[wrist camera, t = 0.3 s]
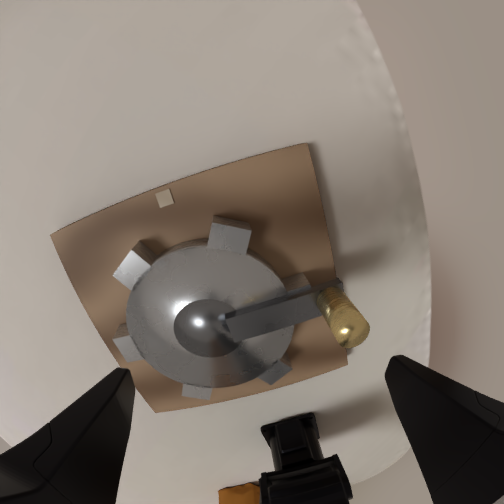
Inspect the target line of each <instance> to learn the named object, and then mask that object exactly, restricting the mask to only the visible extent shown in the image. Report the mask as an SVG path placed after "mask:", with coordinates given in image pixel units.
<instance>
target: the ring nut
mask: <svg viewBox="0 0 504 504" xmlns="http://www.w3.org/2000/svg"><path fill="white" fill-rule="evenodd" d="M251 232H252V230H251V227H250V225H249V223H247V222H243V221H238V220H233V219H229V218H224V217H219V216H214V215H213V219H212V224H211V228H210V233H209V238H208V239H196V240H190V241H186V242H182V243H179V244H176V245H174V246H171V247H169V248H168V249H166V250H164V251H162V252H161V253H160V254H158V255H157V254H155V253H154V252H153V251H152V250H151V249H149V248H148V247H147V246H146V245H145V244H144V243H142V242H141V241H140V240H139V242H138V243H137V244H136V245H135V246H134V247H133V248H132V250H131V251H130V252H129V254H128V255H127V256H126V258H125V259H124V260H123V262H122V263H121V264H120V266H119V267H118V268H117V270H116V271H115V273H114V274H113V275H112V276H114V277H115V278H116V279H117V280H118V281H120V282H121V283H122V284H123V285H125V286H126V287H127V288H128V289H130V290H131V292H130V295H129V298H128V302H127V308H126V323H125V324H121V325H119V327H118V329H117V331H116V333H115V335H114V337H113V339H112V340H113V341H114V343H115V344H116V346H117V348H118V349H119V351H120V352H121V354H122V355H123V357H124V359H125V360H126V362H127V363H128V362H133V361H138V360H143V359H144V360H145V361H146V362H147V363H148V364H149V365H151V366H152V367H153V368H154V369H155V370H157V371H158V372H160V373H161V374H163V375H165V376H166V377H168V378H170V379H172V380H175V381H177V382H180V383H183V389H182V396H185V397H191V398H198V399H205V400H210V396H211V392H212V388H225V387H231V386H236V385H240V384H243V383H246V382H248V381H251V380H253V379H255V378H259V379H261V380H263V381H264V382H266V383H268V384H270V385H273V384H274V383H275V382H277V381H278V380H279V379H281V378H282V377H283V376H284V375H286V374H287V373H288V372H290V371H291V370H292V369H293V368H292V365H291V362H290V359H289V356H288V353H286V352H285V351H286V350H287V348H288V346H289V344H290V342H291V338H292V335H293V331H294V325H295V324H298V323H302V322H305V321H308V320H311V319H314V318H316V317H319V316H323V317H324V319H325V321H326V322H327V324H328V326H329V328H330V329H331V331H332V333H333V335H334V336H335V338H336V340H337V341H338V343H339V345H340V346H342V347H344V348H353V347H356V346H358V345H359V344H361V343H362V342H363V341H364V340H365V339H366V338H367V336H368V334H369V331H370V326H369V323H368V322H367V321H366V320H365V318H364V317H363V316H362V314H361V313H360V312H359V311H358V309H357V308H356V307H355V306H354V304H353V303H352V302H351V301H350V299H349V298H348V297H347V296H346V294H345V293H344V290H343V283H342V282H341V280H340V279H339V278H336V279H333V280H330V281H327V282H324V283H321V284H318V285H315V286H312V287H311V285H310V283H309V282H308V280H307V278H306V277H305V275H304V274H303V272H302V273H299V274H296V275H293V276H290V277H286V278H283V279H281V278H280V276H279V274H278V273H277V272H276V270H275V269H274V267H273V266H272V265H271V264H270V263H269V262H268V261H267V260H266V259H264V258H263V257H262V256H260V255H259V254H258V253H256V252H254V251H253V250H251V249H249V248H248V244H249V240H250V236H251Z"/></svg>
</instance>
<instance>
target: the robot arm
mask: <svg viewBox="0 0 504 504" xmlns="http://www.w3.org/2000/svg"><path fill="white" fill-rule="evenodd" d="M385 380H386V383H387V386H388V389H389V392H390V395H391V398H392V401H393V404H394V407H395V410H396V412H397V415H398V417H399V419H400V421H401V424H402V426H403V428H404V431H405V433H406V435H407V437H408V440H409V442H410V444H411V447H412V449H413V452H414V454H415V456H416V459H417V461H418V463H419V466H420V469H421V471H422V474H423V476H424V479H425V481H426V484H427V487H428V489H429V492H430V494H431V498H432V501H433V504H504V403H503V402H500V401H498V400H495V399H493V398H490V397H488V396H486V395H483V394H481V393H479V392H477V391H474V390H472V389H471V388H468V387H467V386H464V385H462V384H460V383H458V382H456V381H454V380H452V379H450V378H448V377H446V376H444V375H442V374H440V373H437V372H436V371H434V370H432V369H430V368H428V367H426V366H424V365H422V364H420V363H418V362H416V361H414V360H412V359H410V358H408V357H406V356H404V355H396V356H393V357H392V358H391V359H390V361H389V364H388V367H387V369H386V372H385ZM134 397H135V385H134V382H133V378H132V375H131V372H130V370H129V369H128V368H120V367H118V368H116V369H115V370H113V371H112V372H111V373H110V374H108V375H107V376H106V377H105V378H103V379H102V380H101V381H100V382H98V383H97V384H96V385H95V386H93V387H92V388H91V389H90V390H88V391H87V392H86V393H85V394H83V395H82V396H81V397H80V398H78V399H77V400H76V401H75V402H73V403H72V404H71V405H70V406H68V407H67V408H66V409H65V410H63V411H62V412H61V413H60V414H58V415H57V416H56V417H55V418H53V419H52V420H51V421H50V423H47V424H46V425H44V426H43V427H42V428H41V429H39V430H38V431H37V432H35V433H34V434H33V435H31V436H30V437H28V438H27V439H25V440H24V441H22V442H21V443H19V444H17V445H16V446H14V447H12V448H11V449H9V450H7V451H6V452H4V453H2V454H1V455H0V504H115V503H116V497H117V492H118V486H119V481H120V476H121V471H122V466H123V461H124V457H125V452H126V448H127V443H128V439H129V435H130V430H131V422H132V413H133V405H134ZM261 433H262V434H263V436H264V438H265V440H266V441H267V443H268V445H269V447H270V448H271V452H272V457H273V462H274V468H275V471H273V472H267V473H266V472H264V473H261V478H260V479H259V486H260V499H259V504H349V501H348V500H350V499H352V498H353V495H352V490H351V486H350V483H349V480H348V477H347V475H346V473H345V470H344V468H343V466H342V464H341V462H340V459H339V457H338V455H337V454H335V455H332V456H331V457H328V458H325V459H324V457H323V454H322V450H321V447H320V444H319V441H318V439H319V438H320V436H319V432H318V428H317V424H316V420H315V416H314V414H313V413H309V414H306V415H303V416H300V417H296V418H293V419H289V420H286V421H282V422H278V423H275V424H271V425H267V426H263V427H261Z"/></svg>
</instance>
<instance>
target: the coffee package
mask: <svg viewBox="0 0 504 504" xmlns="http://www.w3.org/2000/svg"><path fill="white" fill-rule="evenodd" d="M218 493H219V504H259V499H260V487H259V486H256V485H253V484H252V483H247V484H245V485H238V486H235V487H233V488H224V489H221V490H219V491H218Z"/></svg>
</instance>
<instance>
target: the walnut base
mask: <svg viewBox="0 0 504 504" xmlns="http://www.w3.org/2000/svg"><path fill="white" fill-rule="evenodd" d="M213 215H214V216H219V217H224V218H229V219H233V220H238V221H243V222H247V223H249V225H250V227H251V230H252V232H251V236H250V240H249V244H248V248H249V249H251V250H253V251H254V252H256V253H258V254H259V255H260V256H262V257H263V258H264V259H266V260H267V261H268V262H269V263H270V264H271V265H272V266H273V267H274V269H275V270H276V272H277V273H278V274H279V276H280V278H281V279H283V278H286V277H290V276H293V275H296V274H299V273H302V272H303V274H304V275H305V277H306V278H307V280H308V282H309V283H310V285H311V287H312V286H315V285H318V284H321V283H324V282H327V281H330V280H333V279H336V273H335V267H334V261H333V256H332V250H331V245H330V240H329V235H328V230H327V225H326V220H325V215H324V211H323V206H322V202H321V197H320V193H319V188H318V184H317V180H316V176H315V172H314V168H313V164H312V160H311V156H310V152H309V148H308V145H307V143H303V144H298V145H294V146H289V147H285V148H282V149H278V150H274V151H270V152H266V153H263V154H259V155H255V156H252V157H248V158H245V159H241V160H238V161H235V162H231V163H228V164H225V165H222V166H218V167H215V168H212V169H209V170H206V171H203V172H200V173H197V174H194V175H191V176H188V177H185V178H182V179H179V180H176V181H174V182H171V183H168V184H165V185H163V186H160V187H157V188H155V189H152V190H149V191H147V192H144V193H142V194H139V195H137V196H134V197H132V198H129V199H127V200H124V201H122V202H119V203H117V204H115V205H112V206H110V207H107V208H105V209H103V210H101V211H98V212H96V213H94V214H92V215H89V216H87V217H85V218H83V219H81V220H78V221H76V222H74V223H72V224H70V225H68V226H66V227H64V228H62V229H60V230H58V231H56V232H54V233H53V234H51V235H50V236H51V239H52V241H53V243H54V246H55V248H56V251H57V253H58V255H59V258H60V260H61V262H62V264H63V266H64V269H65V271H66V273H67V275H68V277H69V279H70V281H71V283H72V285H73V287H74V289H75V291H76V293H77V295H78V297H79V299H80V301H81V303H82V305H83V306H84V308H85V310H86V312H87V314H88V315H89V317H90V319H91V321H92V322H93V324H94V326H95V328H96V329H97V331H98V333H99V334H100V336H101V337H102V339H103V341H104V342H105V344H106V345H107V347H108V349H109V350H110V352H111V353H112V355H113V356H114V358H115V359H116V361H117V362H118V364H119V365H120V367H121V368H128V369H129V370H130V372H131V375H132V378H133V382H134V385H135V388H136V389H137V390H138V392H139V393H140V394H141V395H142V397H143V398H144V399H145V401H146V402H147V403H148V404H149V406H150V407H151V408H152V409H153V411H154V412H155V413H158V412H166V411H173V410H180V409H186V408H192V407H198V406H204V405H209V404H214V403H219V402H224V401H228V400H233V399H237V398H241V397H246V396H250V395H254V394H258V393H262V392H265V391H269V390H273V389H276V388H280V387H283V386H287V385H290V384H293V383H296V382H300V381H303V380H306V379H309V378H312V377H315V376H318V375H321V374H324V373H327V372H329V371H332V370H335V369H338V368H340V367H343V366H346V365H348V361H347V351H346V348H344V347H342V346H340V345H339V343H338V341H337V340H336V338H335V336H334V335H333V333H332V331H331V329H330V328H329V326H328V324H327V322H326V321H325V319H324V317H323V316H319V317H316V318H314V319H311V320H308V321H305V322H302V323H298V324H295V325H294V331H293V335H292V338H291V342H290V344H289V346H288V348H287V350H286V351H285V352H286V353H288V356H289V359H290V362H291V365H292V368H293V369H292V370H291V371H290V372H288V373H287V374H286V375H284V376H283V377H282V378H281V379H279V380H278V381H277V382H275V383H274V384H273V385H270V384H268V383H266V382H264V381H263V380H261V379H259V378H255V379H253V380H251V381H248V382H246V383H243V384H240V385H236V386H231V387H225V388H212V392H211V396H210V400H205V399H198V398H191V397H185V396H182V389H183V383H180V382H177V381H175V380H172V379H170V378H168V377H166V376H165V375H163V374H161V373H160V372H158V371H157V370H155V369H154V368H153V367H152V366H151V365H149V364H148V363H147V362H146V361H145V360H144V359H143V360H138V361H133V362H128V363H127V362H126V360H125V359H124V357H123V355H122V354H121V352H120V351H119V349H118V348H117V346H116V344H115V343H114V341H113V340H112V339H113V337H114V335H115V333H116V331H117V329H118V327H119V325H121V324H125V323H126V308H127V302H128V298H129V295H130V292H131V290H130V289H128V288H127V287H126V286H125V285H123V284H122V283H121V282H120V281H118V280H117V279H116V278H115V277H114V276H112V275H113V274H114V273H115V271H116V270H117V268H118V267H119V266H120V264H121V263H122V262H123V260H124V259H125V258H126V256H127V255H128V254H129V252H130V251H131V250H132V248H133V247H134V246H135V245H136V244H137V243H138V242H139V240H140V241H141V242H142V243H144V244H145V245H146V246H147V247H148V248H149V249H151V250H152V251H153V252H154V253H155V254H157V255H158V254H160V253H161V252H162V251H164V250H166V249H168V248H169V247H171V246H174V245H176V244H179V243H182V242H186V241H190V240H196V239H208V238H209V233H210V228H211V224H212V219H213Z"/></svg>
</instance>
